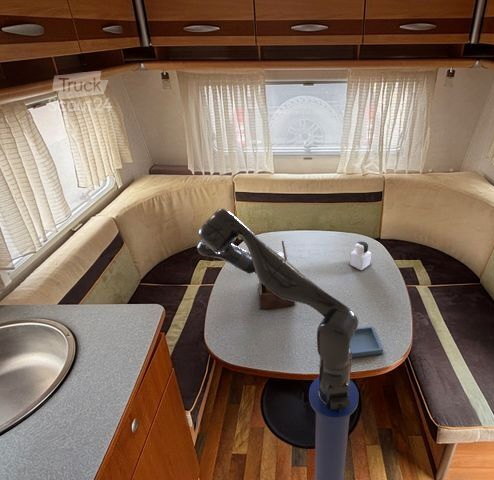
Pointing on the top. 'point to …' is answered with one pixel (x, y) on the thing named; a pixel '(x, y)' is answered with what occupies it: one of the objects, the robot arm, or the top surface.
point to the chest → (271, 299)
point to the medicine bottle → (360, 256)
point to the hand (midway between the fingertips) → (274, 276)
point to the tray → (365, 342)
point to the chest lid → (284, 252)
